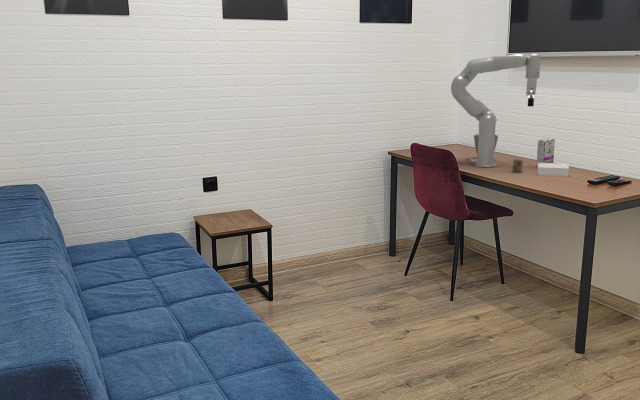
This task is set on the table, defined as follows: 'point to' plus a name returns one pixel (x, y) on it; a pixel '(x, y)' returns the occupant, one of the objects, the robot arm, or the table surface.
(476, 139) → the plant pot
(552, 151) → the candy bar box
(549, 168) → the riser block
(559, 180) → the table surface
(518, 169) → the walnut block
